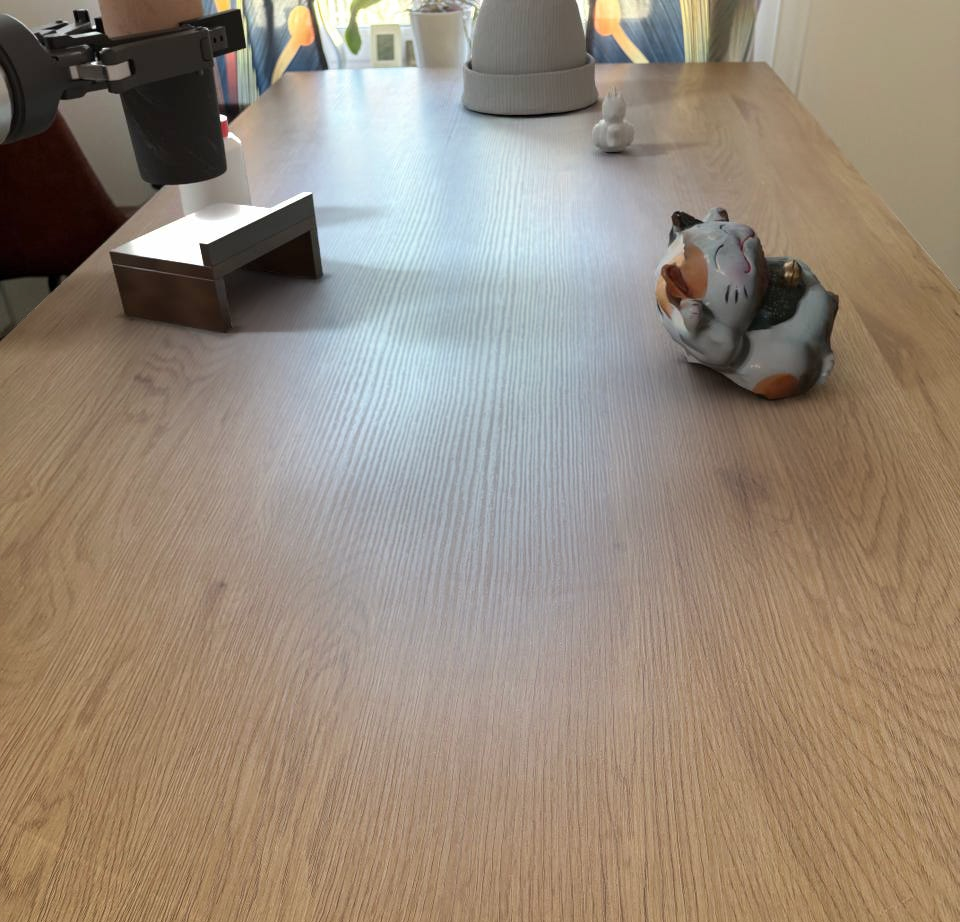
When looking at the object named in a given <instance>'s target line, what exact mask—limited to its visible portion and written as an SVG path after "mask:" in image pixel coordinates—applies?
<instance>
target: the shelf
mask: <svg viewBox="0 0 960 922" xmlns="http://www.w3.org/2000/svg"><path fill="white" fill-rule="evenodd" d="M316 217H317V216H316V210H315V203H314V196H313V193H312V192H306V191H304V192H301V193H299V194H298V195H295V196H294V197H291V198H289V199H287V200H284V201H282V202H281V203H279V204H277V205H275V206H273V207H270V208H269V207H260V206H259V207H258V206H254V205H252V206H245V205H237V204H230V203H222V202H217V203H215V204H213V205H211V206H208V207H206V208H204V209H202V210H199V211H197V212H195V213H193V214H190V215H188V216H186V217H184V216H183V217H181V218H179V219H177V220H175V221H173V222H171V223H168V224H166V225H164V226H162V227H160V228H157V229H155V230H153V231H150V232H149V233H145V234H144V235H142V236H139V237H137V238H135V239H133V240H130V241H127V242H125V243H124V244H121V245H119V246H117V247H114V248H113V249H110V250H109V251H108V253H109V257H110V261H111V264H112V269H113V274H114V278H115V281H116V286H117V289H118V293H119V297H120V301H121V304H122V305H121V306H122V309H123V314H124V315H125V316H132V317H136V318H142V319H148V320H153V321H159V322H164V323H169V324H174V325H180V326H184V327H190V328H196V329H202V330H206V331H211V332H217V333H223V334H225V333H227V332H229V331H230V330H232V329H233V323H232V317H231V312H230V307H229V302H228V297H227V292H226V286H225V279H224V276H227V275H228V274H230V273H231V272H233V271H235V270H237V269H239V268H243V269H249V270H256V271H262V272H269V273H274V274H275V273H276V274H282V275H288V276H293V277H300V278H301V277H302V278H308V279H313V280H318V279H319V278H321V277H323V276H324V272H323V271H324V269H323V264H322V263H323V262H322V257H321V248H320V247H321V246H320V239H319V232H318V225H317V218H316Z"/></svg>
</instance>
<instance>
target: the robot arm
mask: <svg viewBox="0 0 960 922" xmlns="http://www.w3.org/2000/svg"><path fill="white" fill-rule="evenodd" d="M72 13H73V19H74V22H72V23H70V24H69V22H68V21H67V20H63V19H56V20H55V21H52V22H49V23H45V24H41V25H38V26H35V27H31V28H28V26H26V25H25V24H24V23H23V22H22V21H20V20H18V19H17V18H15V16H12V15H9V14H7V13H3V12H0V145H2V146H3V145H10V144H12V143H15V142H16V143H17V142H19V141H21V140H25V139H27V138H31V137H34V136H37V135H39V134H43V133H44V132H45V131H48V129H49V128H50V127H51V125H52V124H53V123H54V121H55V119H56V116H57V113H58V109H59V105H60V101H71V100H76V99H82V98H83V97H85V96H86V94H87V93H91V92H92V93H93V92H97V91H104V90H107V92H108V93H110V94H114V95H119V94H120V93H121V92H124V91H126V90H129V89H131V88H134V87H136V86H139V85H143V84H147V83H151V82H155V81H159V80H163V79H167V78H171V77H175V76H179V75H183V74H187V73H191V74H193V75H198V76H201V75H203V69H204V70H207V69H210V68H213V69H214V67H215V61H214V58H218V57H221V56H225V55H228V54H232V53H234V52H238V51H241V50H244V49H247V42H246V36H245V28H244V21H243V16H242V9H241V8H229V9H226V10H222V11H218V12H214V13H210V14H206V15H204V16H202V17H198V18H194V19H191V20H187V21H183V22H179V23H178V24H179V27H175V28H169V29H163V30H156V31H150V32H143V33H137V34H131V35H124V36H118V37H112V38H109V37H108V36H107V35H105V31H104V26H103V21H102V17H101V16H97V17H94V18H93V21H94V24H92V20H91V16H90V10H89V9H87V8H82V9H81V8H79V9H74V10H72Z"/></svg>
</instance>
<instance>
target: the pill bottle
mask: <svg viewBox="0 0 960 922" xmlns="http://www.w3.org/2000/svg"><path fill="white" fill-rule="evenodd" d="M220 119H221V126H222V133H223V140H224V147H225V154H226V162H227V171H226V172H225V173H224V174H222V175H221V176H219V177H216V178H213V179H210V180H207V181H202V182H198V183H191V184H183V185H177V187H178V194H179V197H180V202H181V207H182V213H183V218H184V217H186V216H188V215H190V214H193V213H195V212H197V211H199V210H202V209H204V208H206V207H208V206H211V205H213V204H215V203H217V202H222V203H230V204H237V205H245V206H253V204H252V198H251V192H250V185H249V179H248V173H247V168H246V160H245V155H244V150H243V143H242V140H240V139H239V138H238V137H237V136H235V134H234V133H232V132H231V131H230V128H229V122H228V117H227V116H226V115H223V114H220Z"/></svg>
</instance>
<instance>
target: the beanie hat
mask: <svg viewBox="0 0 960 922" xmlns="http://www.w3.org/2000/svg"><path fill="white" fill-rule="evenodd" d="M471 43H472V45H471V57H470V58H468V59H467V60H466V61H465V62H464V63H463V65H462V77H463V80H462V81H463V88H462V94H461V96H460V97H461V103H462V105H463V107H465V108H466V109H468V110H470V111H474V112H477V113H482V114H483V113H484V114H492V115H505V116H513V115H514V116H515V115H516V116H526V115H527V116H529V115H542V114H556V113H557V114H558V113H565V112H571V111H577V110H580V109H584V108H587V107H589V106H592V105H593V104H595V103H596V101H598V97H599V91H598V88H597V85H596V59H595V57H594V56H592V55H591V54H590V53H589V52H587V40H586V35H585V29H584V25H583V21H582V17H581V13H580V8H579V5H578V2H577V0H482V2H481V5H480V7H479V10H478V14H477V17H476V20H475V25H474V31H473V35H472V42H471Z"/></svg>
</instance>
